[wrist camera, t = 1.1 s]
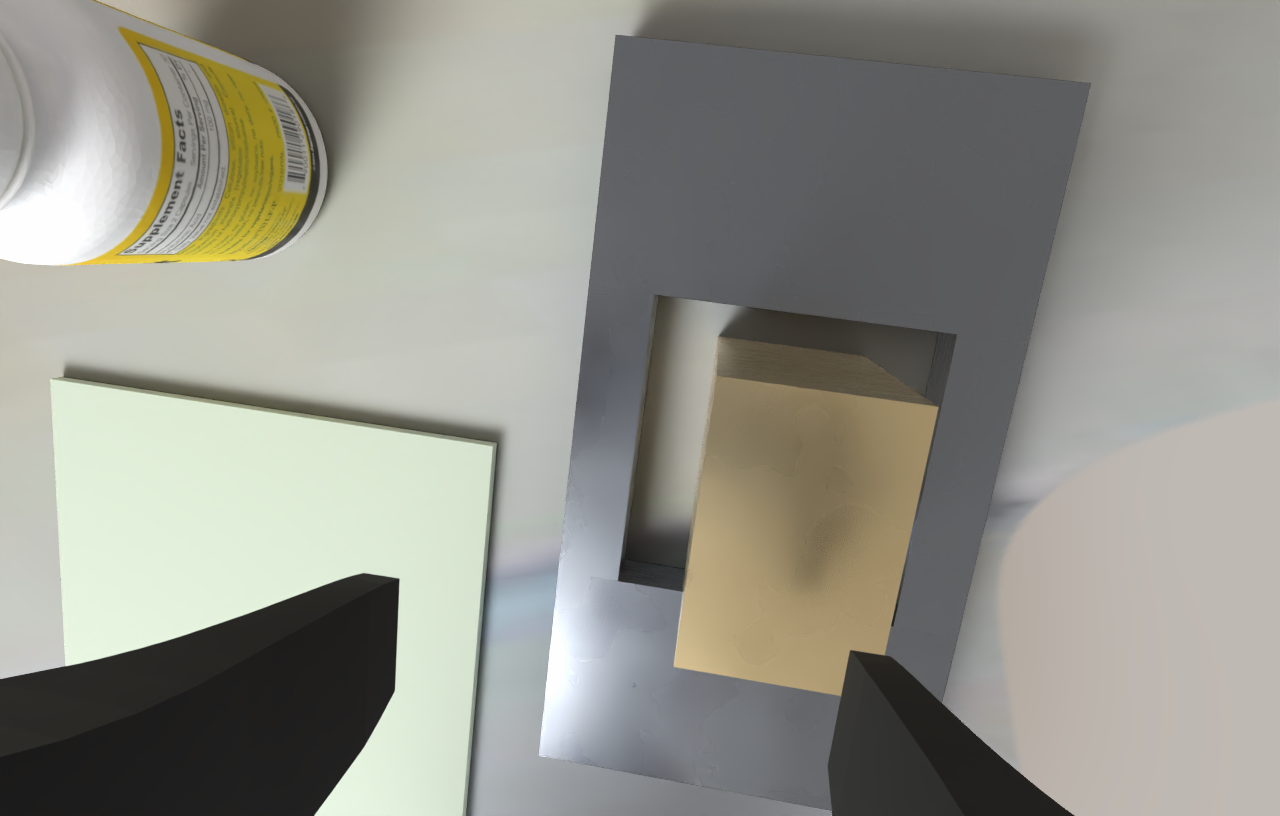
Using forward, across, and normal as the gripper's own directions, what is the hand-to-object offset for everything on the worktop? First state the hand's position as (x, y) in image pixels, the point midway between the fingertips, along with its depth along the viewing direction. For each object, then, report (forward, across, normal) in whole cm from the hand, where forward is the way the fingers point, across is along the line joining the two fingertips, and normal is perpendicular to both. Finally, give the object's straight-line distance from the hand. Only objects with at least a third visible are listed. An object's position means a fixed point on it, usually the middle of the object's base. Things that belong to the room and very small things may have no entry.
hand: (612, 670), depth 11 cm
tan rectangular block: (+10, -3, -1) cm, 11 cm away
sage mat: (+10, +12, +8) cm, 17 cm away
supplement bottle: (+10, +13, -8) cm, 18 cm away
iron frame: (+10, -3, -1) cm, 11 cm away
